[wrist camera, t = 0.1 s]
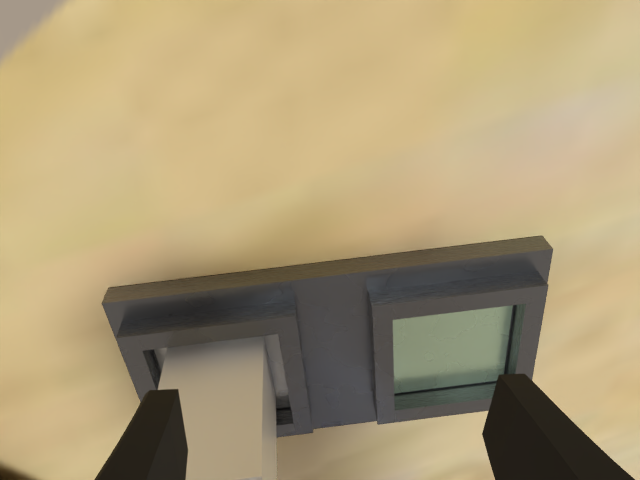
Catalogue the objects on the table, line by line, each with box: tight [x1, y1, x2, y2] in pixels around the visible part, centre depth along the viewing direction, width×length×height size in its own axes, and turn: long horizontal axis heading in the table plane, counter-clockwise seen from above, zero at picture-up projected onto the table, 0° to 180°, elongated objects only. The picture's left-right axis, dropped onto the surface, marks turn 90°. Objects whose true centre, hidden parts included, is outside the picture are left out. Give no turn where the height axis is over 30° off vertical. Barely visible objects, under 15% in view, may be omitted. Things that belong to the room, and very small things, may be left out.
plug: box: [158, 336, 277, 480], centre depth 20 cm, size 4×4×7 cm
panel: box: [102, 236, 553, 437], centre depth 24 cm, size 9×18×2 cm, turn 95°
